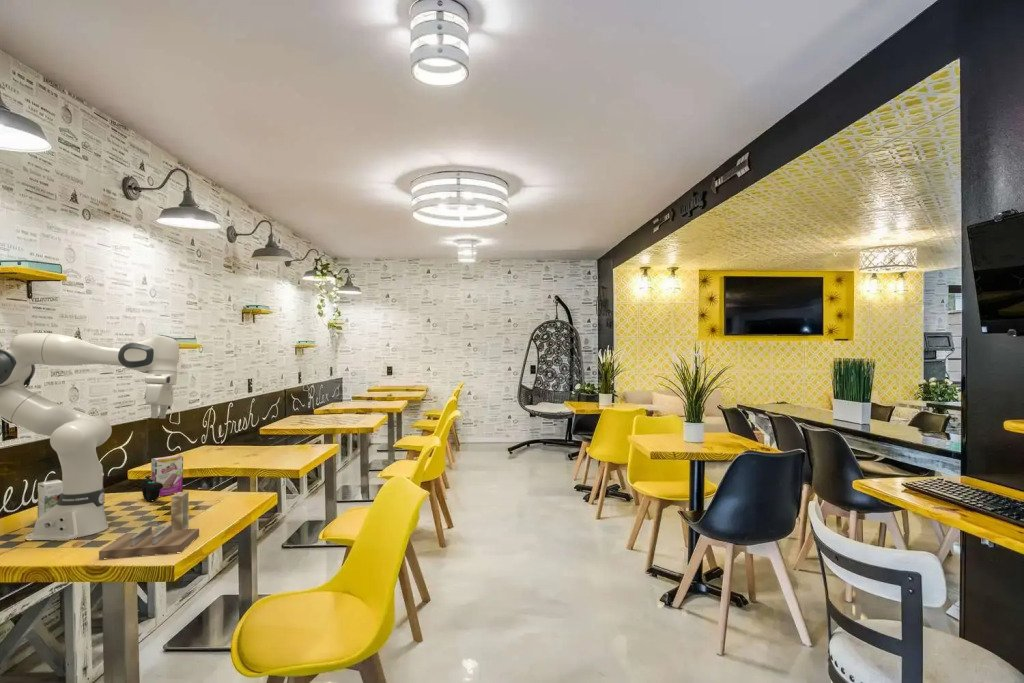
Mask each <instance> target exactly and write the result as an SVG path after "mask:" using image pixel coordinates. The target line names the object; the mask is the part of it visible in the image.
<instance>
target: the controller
mask: <svg viewBox="0 0 1024 683" xmlns="http://www.w3.org/2000/svg"><path fill="white" fill-rule="evenodd" d="M140 484H141V485H140V486H141V492H142V497H143V498H144V500H145V501H146V500H147V501H146V502H153V501H152V500H154V501H156V500H158V499H159V498H160V497H159V494H160V489H162V488H163V484H162V483H159V482H156V481H153V480H151V475H147V476H145V479H144V480H143V481H141V482H140Z"/></svg>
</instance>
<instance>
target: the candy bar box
mask: <svg viewBox="0 0 1024 683" xmlns="http://www.w3.org/2000/svg"><path fill="white" fill-rule="evenodd" d="M150 461H151V463H150V464H151V468H150V469H151V470H150V473H151V474H150V476H151V477H150V479H151V480H153V481H156V482H159V483H162V484H163V488H162V489H160V494H159V496H163V497H168V496H171V495H170V494H173V493H178V492H184V491H183V490H184V489H183V488H184V487H183V486H184V456H183V455H179V454H178V455H169V456H163V457H161V456H160V457H156V458H151V460H150ZM167 495H168V496H167ZM173 495H174V494H173Z"/></svg>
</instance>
